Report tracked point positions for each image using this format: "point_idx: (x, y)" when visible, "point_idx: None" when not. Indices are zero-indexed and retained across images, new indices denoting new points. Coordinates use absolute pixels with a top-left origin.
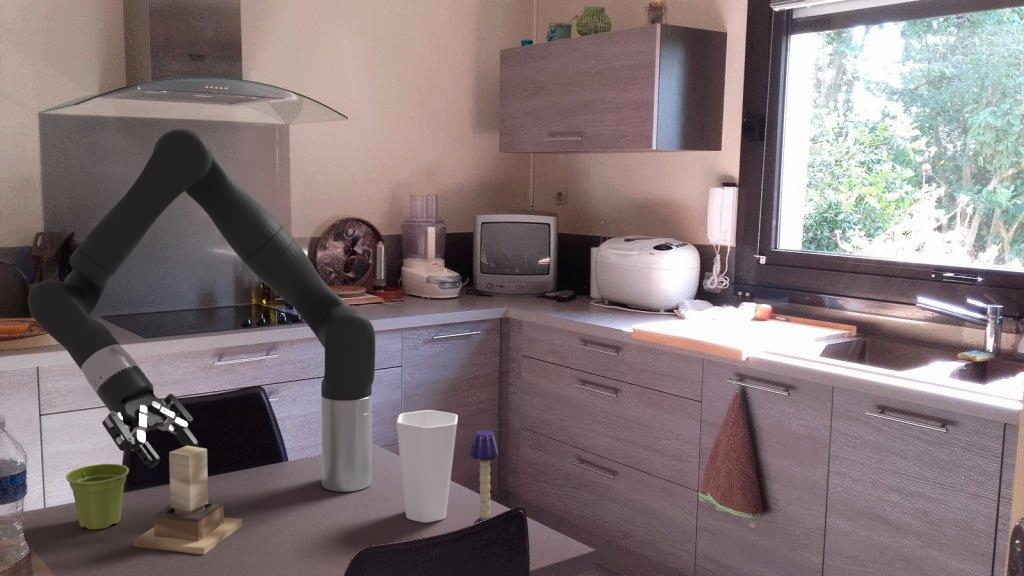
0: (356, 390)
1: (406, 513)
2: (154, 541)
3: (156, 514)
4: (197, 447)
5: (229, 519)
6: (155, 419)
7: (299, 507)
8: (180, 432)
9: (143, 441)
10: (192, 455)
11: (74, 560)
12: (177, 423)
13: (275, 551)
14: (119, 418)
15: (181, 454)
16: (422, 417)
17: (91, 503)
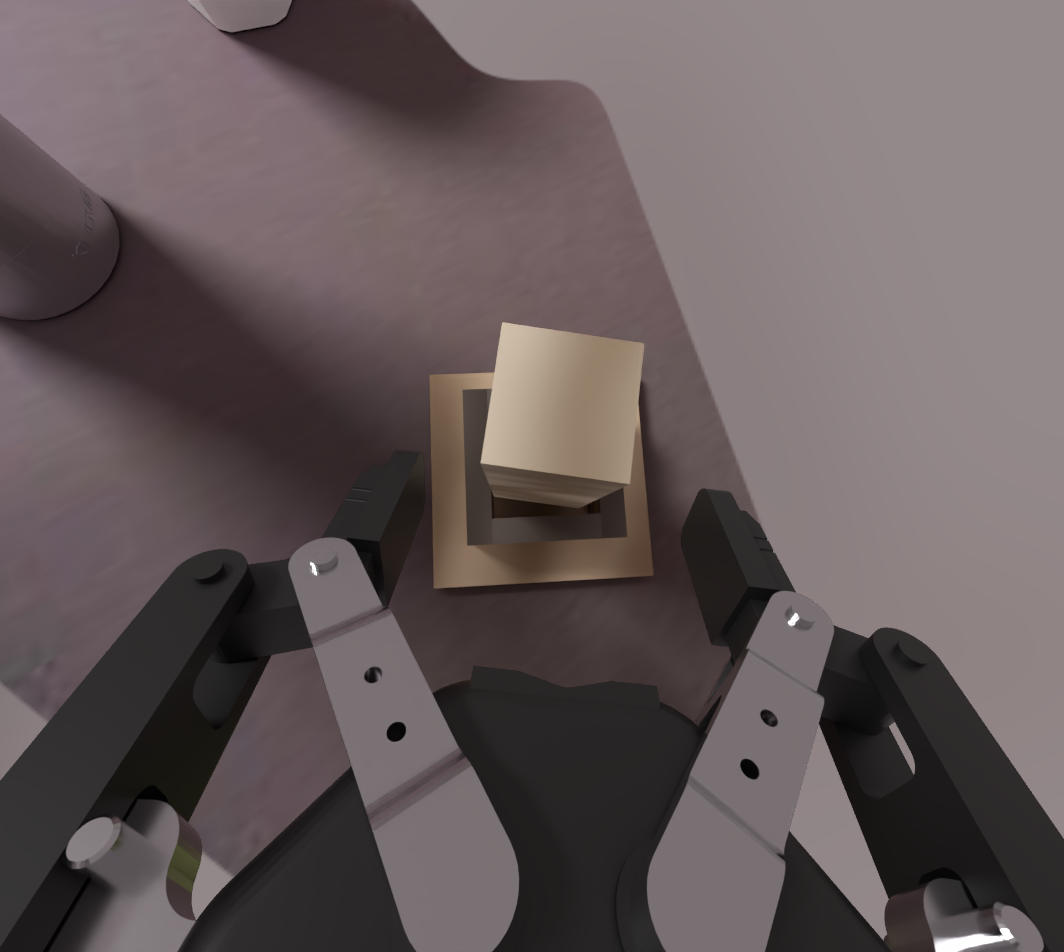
0: None
1: (273, 8)
2: (640, 515)
3: (621, 531)
4: (495, 385)
5: (440, 409)
6: (550, 715)
7: (266, 299)
8: (386, 564)
9: (788, 594)
10: (616, 342)
11: None
12: (373, 588)
13: (559, 229)
14: (1060, 938)
15: (637, 396)
16: None
17: None
